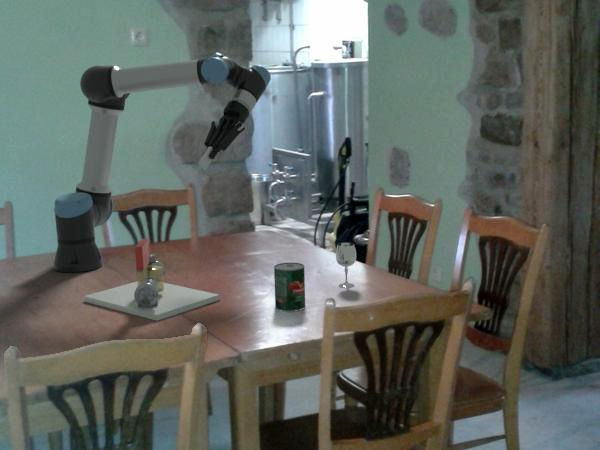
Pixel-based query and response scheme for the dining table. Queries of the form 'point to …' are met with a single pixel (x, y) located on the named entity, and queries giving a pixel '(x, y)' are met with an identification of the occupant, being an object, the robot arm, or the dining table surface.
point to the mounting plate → (169, 300)
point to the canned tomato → (289, 286)
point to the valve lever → (143, 255)
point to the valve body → (149, 285)
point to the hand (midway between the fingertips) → (202, 166)
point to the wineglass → (346, 259)
